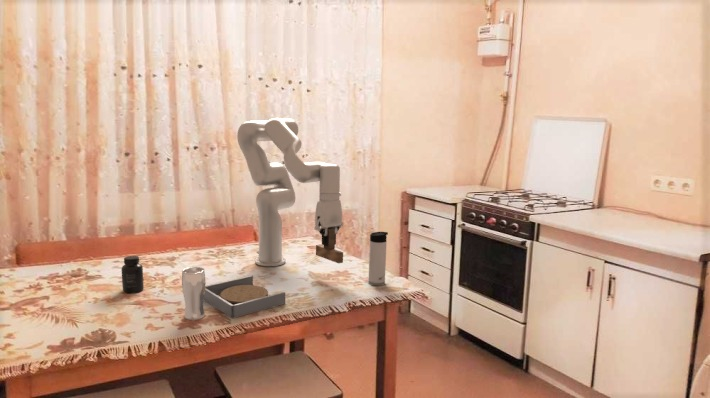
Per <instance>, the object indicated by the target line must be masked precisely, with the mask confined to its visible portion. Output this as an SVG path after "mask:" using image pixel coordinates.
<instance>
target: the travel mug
mask: <svg viewBox="0 0 710 398" xmlns="http://www.w3.org/2000/svg"><path fill="white" fill-rule="evenodd" d="M388 234H389V233H388V232H387V231H376V232H375V231H374V232H371V234H369V252H368V254H369V256H368V258H369V259H368V260H369V261H368V281H367V282H368V284H369V285H371V286H377V287H379V286H380V287H381V286H384V285H385V283H386V265H387V263H386V261H387V235H388Z"/></svg>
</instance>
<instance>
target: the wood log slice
mask: <svg viewBox="0 0 710 398" xmlns="http://www.w3.org/2000/svg"><path fill="white" fill-rule="evenodd" d="M265 296H269V291H268V289H267V288H265V287H263V286H260V285H255V284H253V285H239V286H233V287H229V288H227V289H224V290H223V291H222V292H221V294H220V295H219V297H221V298H223V299H224V300H226V301H228V302H229V303H231V304H232V305H235V304H239V303H242V302H246V301H250V300H254V299H258V298H262V297H265Z"/></svg>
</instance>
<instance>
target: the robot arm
mask: <svg viewBox="0 0 710 398" xmlns="http://www.w3.org/2000/svg"><path fill="white" fill-rule="evenodd" d="M298 134H299V126H298V124H297V122H296V121H295V120H294V119H292V118H289V117H287V118H286V117H283V118H281V117H280V118H279V117H275V118H270V119H269V120H250V121H249V120H248V121H245V122H243V123H241V124H240V125H239V127H238V129H237V135H236V136H237V142H238V146H239V148H240V150H241V152H242V154H243V157H244V158H245V162H246V164H247V167H248V170H249V173H250V176H251V178H252V181H253V184H254V185H255V186H257V187H269V188H264V189H262V190H260V191H258V193H257V195H256V197H255V198H256V199H255V203H256V207H257V212H258V250H256V254H258V257H256V258H255V259H254V261H255V264H257V265H258V266H262V267H277V266H282V265H284V264H286V258H285V257H283V221H282V217H281V215H280V213H279V211H280V210H284V209H285V210H286V209H289V208H292V207H293V206H294V205H295V203H296V193H295V189H294V187H293V184H292V183H293V182H292V181H291V178H290V175H291V176H292V177H293V178H294V179H295V180H296V181H297V182H299V183H300V184H310V183H316V182H319V193H318V194H319V196H318V197H319V200H317V203H316V206H315V212H314V213H315V215H314V227H313V228H314V230H315V231H317V232H319V234H320V236H321V245H323V246H328V236H327V231H328V228H329V227H332V228H335V245H337V234H338V233H339V230H340V229H341V228H342V227H343V226H344V223H343V208H342V203H341V200H340V197H341V196H342V193H341V192H340V188H341V187H340V186H341V185H340V184H341V183H340V181H341V179H340V178H341V168H340V166H339V165H338V164H336V163H335V164H334V163H326V162H323V161H311V162H310V161H309V162H303V161H302V159H301V158H300V157H299V156H298V155H297V154H298V153H299V151H300V149H301V147H302V141H301V139H300V138H299V137H298ZM258 142H273V144H274V145H275V146H276V147H277V148H278V150H279V151H281V153H282V154H283V163H284V165H283V164H282V163H279V162H270V161H269V160H268V157H267V155H266V152H265V150H264V149H263V147H262V146H261V145H260V144H259V143H258ZM289 174H290V175H289ZM270 186H273V187H270Z"/></svg>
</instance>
